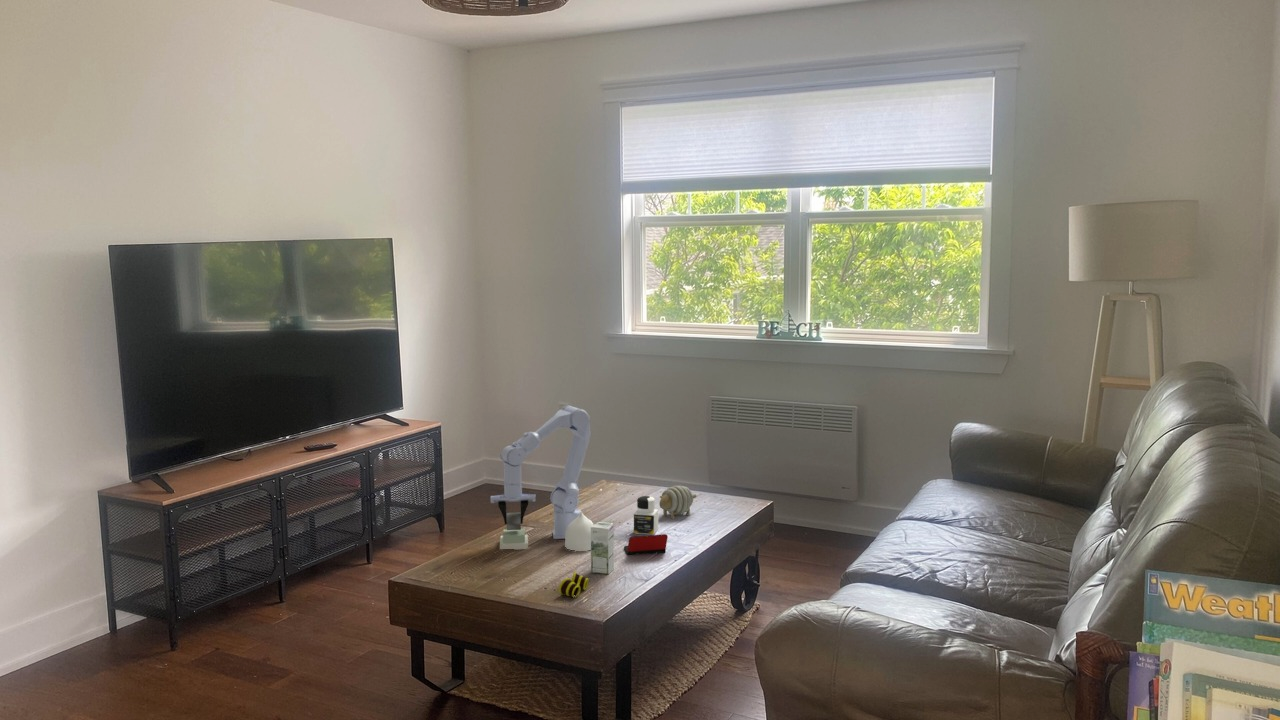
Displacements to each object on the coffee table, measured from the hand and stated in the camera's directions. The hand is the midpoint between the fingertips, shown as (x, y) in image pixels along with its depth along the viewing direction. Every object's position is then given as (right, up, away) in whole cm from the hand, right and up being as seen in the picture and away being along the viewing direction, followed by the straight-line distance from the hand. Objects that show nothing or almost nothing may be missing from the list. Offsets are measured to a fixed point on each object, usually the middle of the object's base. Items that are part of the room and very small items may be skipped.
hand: (513, 523), depth 293 cm
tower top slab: (0, -6, 0) cm, 6 cm away
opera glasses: (+23, -13, -40) cm, 48 cm away
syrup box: (+30, -10, -23) cm, 40 cm away
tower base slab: (0, -8, +1) cm, 8 cm away
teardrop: (+22, -8, 0) cm, 24 cm away
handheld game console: (+43, -9, -7) cm, 45 cm away
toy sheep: (+55, -4, +34) cm, 65 cm away
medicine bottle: (+44, -6, +15) cm, 47 cm away
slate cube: (0, -2, 0) cm, 2 cm away
